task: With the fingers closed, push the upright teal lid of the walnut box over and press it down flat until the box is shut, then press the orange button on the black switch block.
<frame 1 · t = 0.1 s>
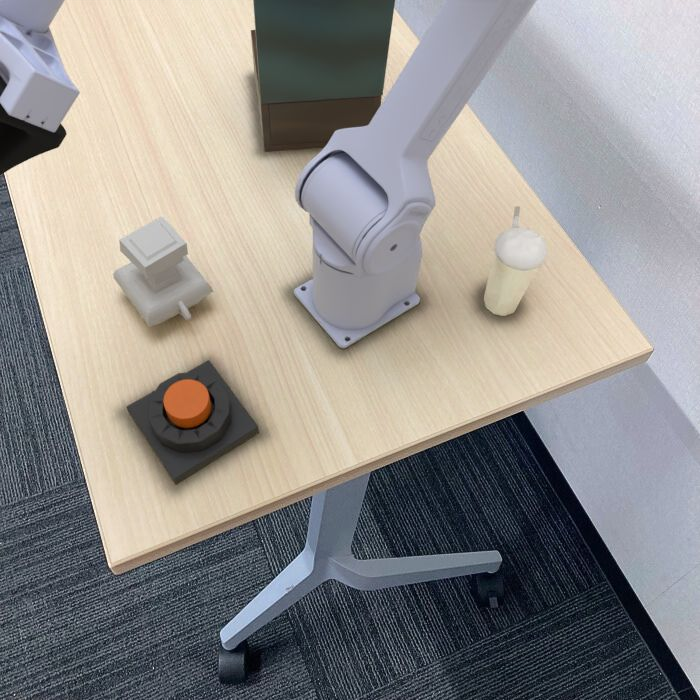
switch block: (193, 422, 61), on the table
button: (187, 403, 58), point 3 cm above the table, slide at 0.1 cm
stamp: (168, 301, 67), on the table
box: (313, 109, 82), on the table
milkshake: (499, 300, 69), on the table
lid: (323, 43, 67), point 13 cm above the table, hinge at 96.0°
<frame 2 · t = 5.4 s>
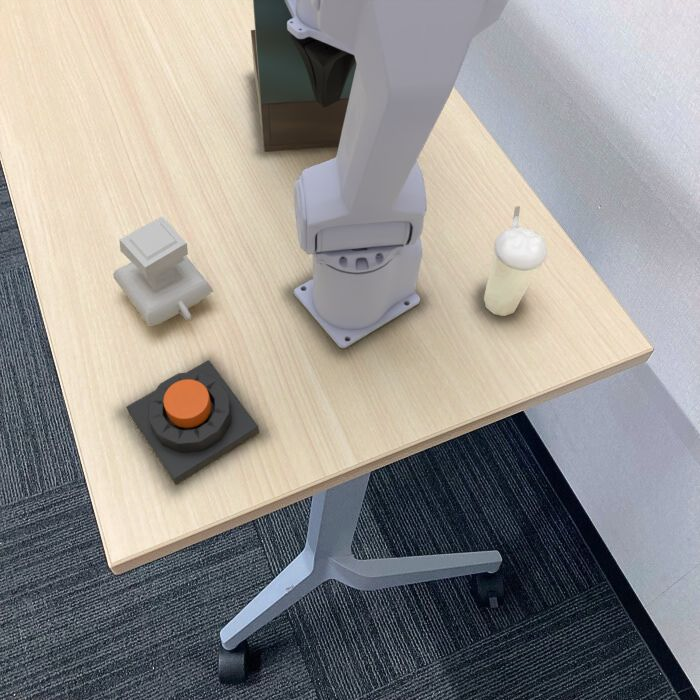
hand: (327, 100, 69), 10 cm above the table, tool pointing down, fingers closed
lid: (323, 40, 67), point 13 cm above the table, hinge at 93.2°, touching gripper
everything else where it was.
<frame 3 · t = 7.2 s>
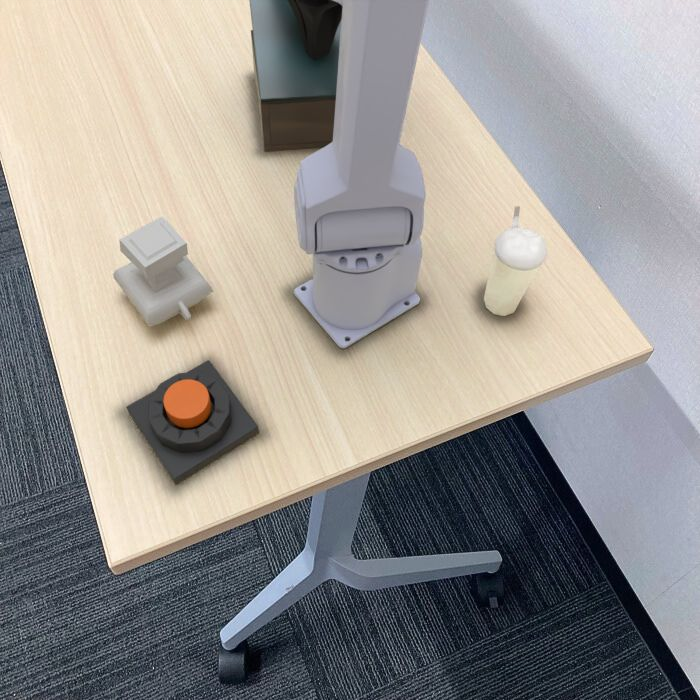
hand: (318, 53, 72), 10 cm above the table, tool pointing down, fingers closed
lid: (314, 31, 73), point 10 cm above the table, hinge at 32.4°, touching gripper
everything else where it was.
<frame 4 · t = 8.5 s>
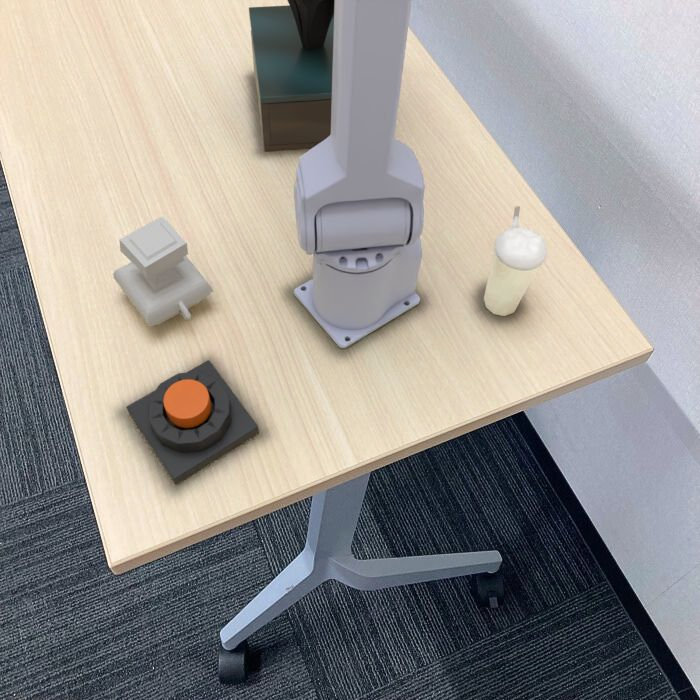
hand: (313, 44, 76), 8 cm above the table, tool pointing down, fingers closed
lid: (313, 50, 76), point 7 cm above the table, hinge at 6.1°, touching gripper
everything else where it was.
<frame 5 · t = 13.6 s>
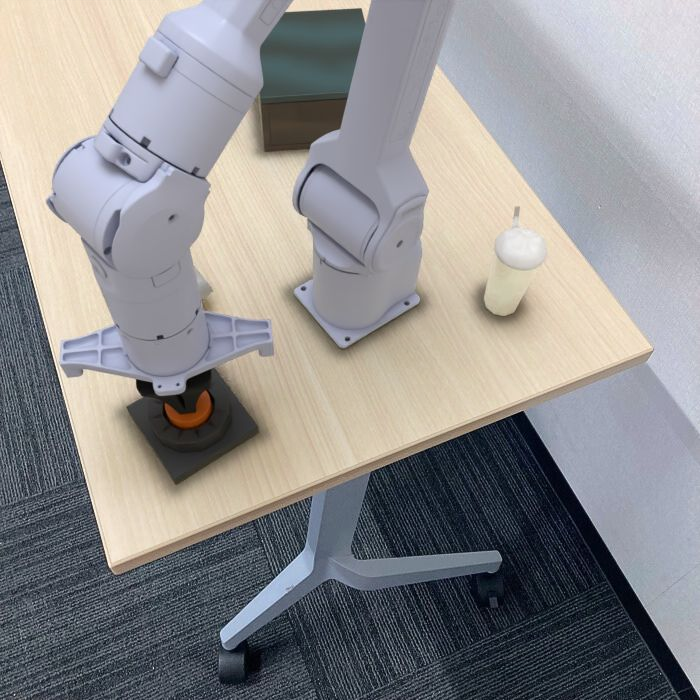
hand: (187, 402, 57), 4 cm above the table, tool pointing down, fingers closed, pressing on button
button: (189, 407, 58), point 3 cm above the table, slide at -0.5 cm, touching gripper
lid: (313, 53, 77), point 7 cm above the table, hinge at 2.6°
everything else where it was.
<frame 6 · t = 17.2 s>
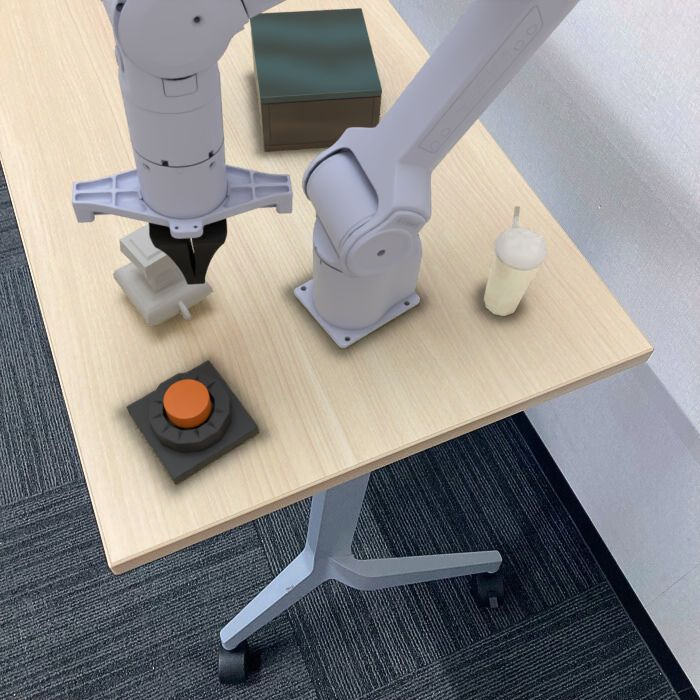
hand: (195, 274, 56), 10 cm above the table, tool pointing down, fingers closed
button: (187, 403, 58), point 3 cm above the table, slide at 0.1 cm
everything else where it was.
at the end: lid at +3° (first picture: +96°); button pushed in 1.2 cm at the most during the clip, back to where it started at the end; button slide at 0.1 cm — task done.
